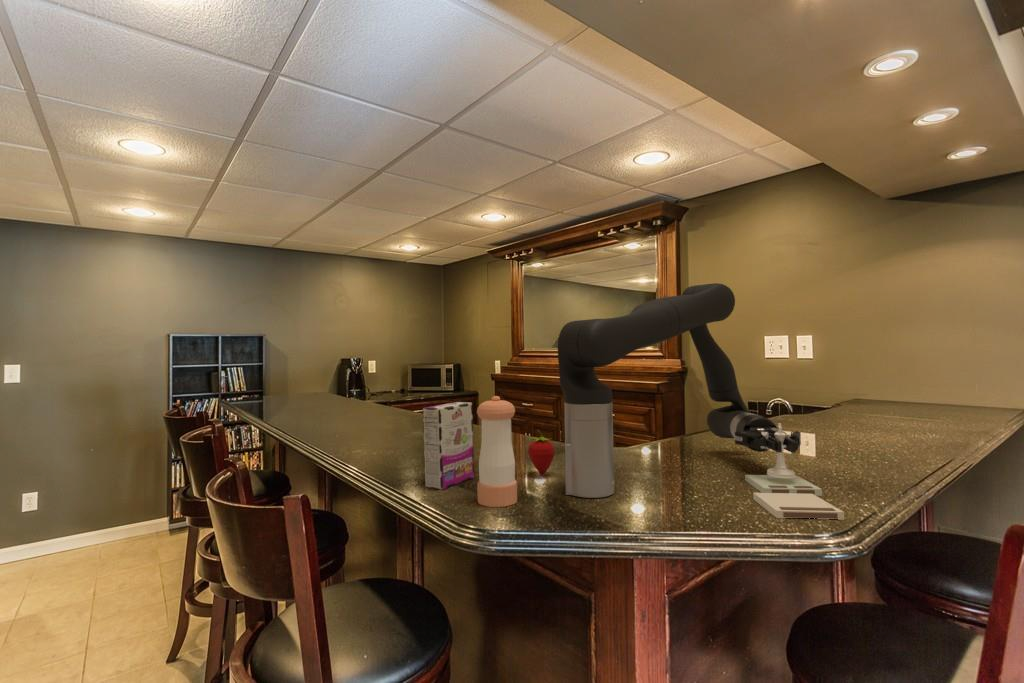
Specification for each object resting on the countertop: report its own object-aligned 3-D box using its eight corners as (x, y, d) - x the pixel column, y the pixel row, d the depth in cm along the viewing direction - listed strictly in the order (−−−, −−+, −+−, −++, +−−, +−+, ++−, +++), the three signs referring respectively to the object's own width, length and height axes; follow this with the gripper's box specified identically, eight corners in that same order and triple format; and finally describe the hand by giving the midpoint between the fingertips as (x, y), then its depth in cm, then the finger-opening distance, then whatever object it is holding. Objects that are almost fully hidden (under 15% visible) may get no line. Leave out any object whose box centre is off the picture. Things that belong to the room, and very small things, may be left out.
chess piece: (792, 472, 96) (791, 422, 96) (798, 479, 92) (796, 426, 92) (764, 470, 98) (763, 421, 98) (768, 477, 93) (767, 425, 93)
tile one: (777, 518, 77) (776, 509, 77) (753, 499, 87) (753, 491, 87) (844, 520, 76) (844, 511, 76) (812, 500, 86) (812, 492, 86)
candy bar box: (456, 475, 108) (455, 401, 109) (474, 477, 106) (473, 402, 106) (422, 487, 99) (421, 406, 99) (441, 490, 96) (440, 407, 97)
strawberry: (528, 479, 103) (527, 432, 104) (528, 471, 111) (527, 427, 111) (556, 479, 103) (555, 432, 103) (554, 471, 111) (553, 427, 111)
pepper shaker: (477, 495, 92) (475, 394, 93) (515, 494, 93) (513, 394, 93) (478, 508, 85) (476, 398, 86) (519, 506, 86) (517, 397, 86)
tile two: (764, 494, 90) (764, 487, 90) (745, 480, 100) (745, 474, 100) (822, 496, 89) (822, 488, 89) (796, 481, 99) (796, 474, 99)
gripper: (720, 414, 110) (748, 427, 93) (785, 414, 108) (825, 427, 91) (721, 447, 110) (749, 466, 92) (785, 448, 108) (826, 467, 91)
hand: (786, 447), depth 92 cm, fingers closed on chess piece
